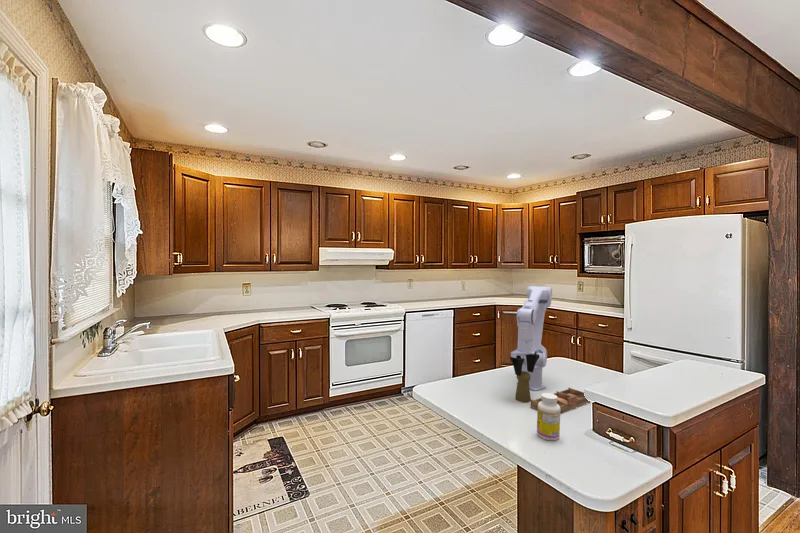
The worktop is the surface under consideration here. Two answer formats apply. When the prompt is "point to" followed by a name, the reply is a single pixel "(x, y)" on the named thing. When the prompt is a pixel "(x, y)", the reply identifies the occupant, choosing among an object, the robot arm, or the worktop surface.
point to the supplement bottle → (548, 417)
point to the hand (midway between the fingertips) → (524, 373)
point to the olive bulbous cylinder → (523, 388)
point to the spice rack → (565, 400)
